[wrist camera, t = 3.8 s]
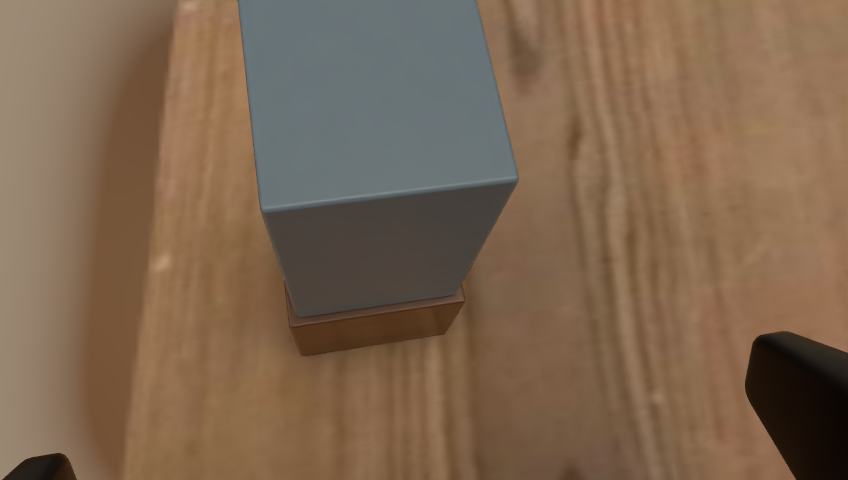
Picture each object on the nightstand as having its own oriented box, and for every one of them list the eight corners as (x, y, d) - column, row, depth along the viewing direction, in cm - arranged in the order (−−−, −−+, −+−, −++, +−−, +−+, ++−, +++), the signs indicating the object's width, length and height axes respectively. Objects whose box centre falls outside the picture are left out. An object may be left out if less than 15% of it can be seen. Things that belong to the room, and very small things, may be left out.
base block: (445, 334, 21) (466, 301, 17) (301, 356, 20) (289, 328, 16) (421, 202, 22) (434, 145, 19) (284, 219, 22) (270, 164, 18)
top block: (457, 295, 17) (521, 180, 11) (296, 319, 17) (260, 212, 10) (429, 152, 18) (471, -29, 12) (279, 170, 18) (235, -11, 11)
